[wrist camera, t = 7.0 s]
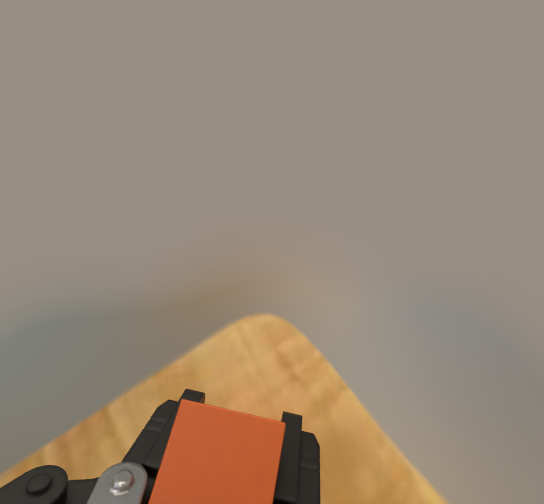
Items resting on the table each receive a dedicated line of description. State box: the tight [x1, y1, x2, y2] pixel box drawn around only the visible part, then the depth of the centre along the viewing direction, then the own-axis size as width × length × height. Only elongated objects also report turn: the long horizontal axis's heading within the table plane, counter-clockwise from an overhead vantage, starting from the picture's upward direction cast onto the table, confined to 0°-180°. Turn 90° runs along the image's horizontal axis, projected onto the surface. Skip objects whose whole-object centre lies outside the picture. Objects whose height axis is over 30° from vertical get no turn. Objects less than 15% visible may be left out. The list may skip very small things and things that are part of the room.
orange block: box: [148, 399, 286, 504], centre depth 13 cm, size 4×3×9 cm
